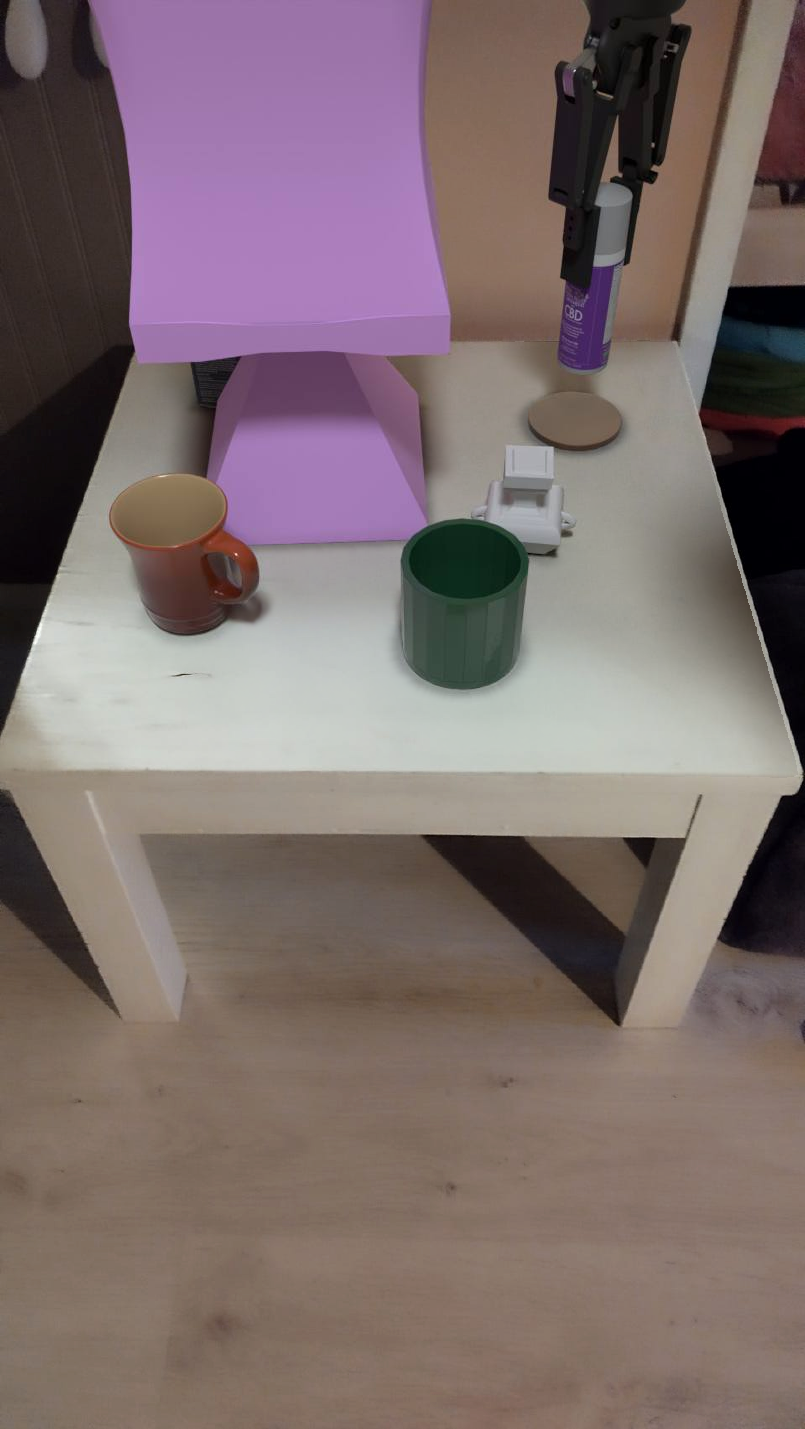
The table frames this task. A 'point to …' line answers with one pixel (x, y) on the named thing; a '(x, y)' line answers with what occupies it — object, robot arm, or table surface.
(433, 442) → the table surface
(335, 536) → the chair
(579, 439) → the coaster
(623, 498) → the table surface
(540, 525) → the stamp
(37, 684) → the table surface
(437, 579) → the cup
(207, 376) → the box
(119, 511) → the mug
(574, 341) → the container
